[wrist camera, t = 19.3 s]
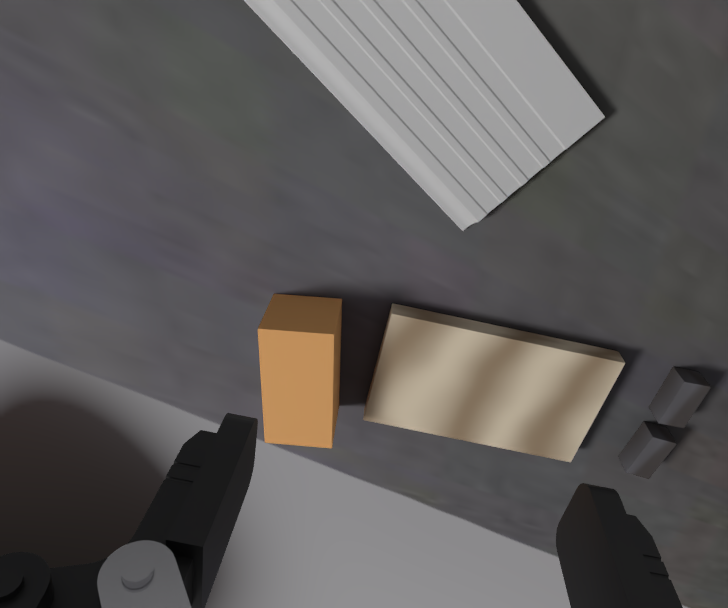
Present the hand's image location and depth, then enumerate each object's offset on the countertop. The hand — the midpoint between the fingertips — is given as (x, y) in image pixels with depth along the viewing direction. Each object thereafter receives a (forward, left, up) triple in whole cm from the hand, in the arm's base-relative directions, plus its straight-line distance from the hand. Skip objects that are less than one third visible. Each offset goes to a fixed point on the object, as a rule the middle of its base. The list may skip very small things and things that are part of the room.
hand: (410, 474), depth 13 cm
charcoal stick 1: (-22, +17, -24) cm, 36 cm away
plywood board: (-9, +14, -24) cm, 29 cm away
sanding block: (+4, +15, -25) cm, 29 cm away
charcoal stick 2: (-22, +11, -24) cm, 34 cm away
